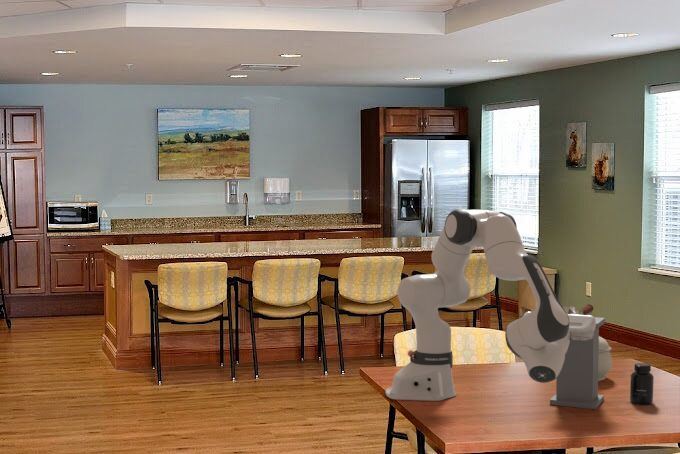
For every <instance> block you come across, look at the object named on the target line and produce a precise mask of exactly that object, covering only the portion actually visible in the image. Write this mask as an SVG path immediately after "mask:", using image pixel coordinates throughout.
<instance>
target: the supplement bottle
mask: <svg viewBox="0 0 680 454" xmlns="http://www.w3.org/2000/svg"><path fill="white" fill-rule="evenodd" d="M651 367H652V365H651V364H649V363H645V362H644V363H643V362H637V363H636V362H635V363H634V371H633V372H632V373H631V374H630V388H629V389H630V390H629V391H630V392H629V401H630V402H631V403H632V404H634V405H643V406H648V405H651V404H653V402H654V400H653V399H654V383H655V382H654V381H655V379H654V375H653V373H651Z"/></svg>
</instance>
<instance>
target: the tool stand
mask: <svg viewBox="0 0 680 454" xmlns="http://www.w3.org/2000/svg"><path fill="white" fill-rule="evenodd" d="M593 317H594V318H595V321H596V328H595V330H594V335H593V338H592V339H589V340H587V341H582V340H570V343H569V346H568V350H567V352H566V354H565V360H564V363H563V366H562V369H561V371H560V373H559V375H558V376H557V378H556V390H555V392H556V393H555V394H554V396H552V397H551V398H550V399H549V405H552V406H562V407H571V408H579V409H588V410H589V409H590V410H597V409H598V408H599V407H600V405H601V404H602V403H603V402H604V400H605V399H604V397H605V395H604V394H603V395H602V394H599V381H598V354H599V336H600V334H599V333H600V328H601V326H604V324H605V323H606V318H605V317H597V316H596V317H595V316H593Z"/></svg>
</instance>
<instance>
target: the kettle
mask: <svg viewBox="0 0 680 454" xmlns="http://www.w3.org/2000/svg"><path fill="white" fill-rule="evenodd" d="M577 311H580V312H582V315H591V316H593V313H592V312H593V311H594V306H593V304H586V305H585V306H584V307H582V308H580V309H579V310H577ZM611 351H612V347H611V346H610V345H609V343H608V342H607V340H606V339H605V338H603V337H602V336H600V335H599V354H598V382H602V381H605V380H606V378H607V377H606V375H608V374H609V372H610V371H611V370H612V368H613V358H612V354H611Z"/></svg>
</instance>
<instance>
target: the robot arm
mask: <svg viewBox="0 0 680 454" xmlns="http://www.w3.org/2000/svg"><path fill="white" fill-rule="evenodd" d="M474 248H483V251H484V252H483V253H484V257H485V261H486V264H487V267H488V270H489V272H490V273H491V274H492V275H493V276H494V277H496V278H497V279H500V280H503V281H512V282H515V281H523V280H526V281H527V283H528V285H529V287H530V290H531V292H532V294H533V297H534V298H535V300H536V302H537V303H536V304H537V305H536V307H535V309H534V310H532V311H526V312H524V314H523V316H521V317H519V318H518V319H515V320H514V321H512V322H510V323H509V324H507V326H506V328H505V332H504V333H505V335H504V336H505V342H506V346H507V347H508V349H509V351H511V353H512V354H513V355H515V356H516V357H518V358H519V359H520V360H522V361H523V363H524V365H525V367H526V370H527V374H528V377H530V378H531V379H532V380H533V381H535V382H537V383H542V384H545V383H551V382H552V381H554V380H557V376H558V375H559V373H560V371H561V369H562V366H563V363H564V360H565V354H566V352H567V350H568V346H569V343H570V340H582V341H587V340H589V339H592V338H593V335H594V330H595V328H596V321H595V318H594V317H595V316H593V315H592V316H591V315H588V314H586V315H577V313H576V312H575V310H576V307H575V306H569V307H570V308H569V314H567V313H566V312H565V310H564V309H563V307H562V305H561V303H560V301H559V299H558V298H557V295H556V293H555V291H554V289H553V287H552V285H551V283H550V280H549V278H548V277H547V275H546V272H545V271H544V269H543V267H542V264H540V261H539V260H538V259H537V258H536V257H535V256H534V255H532V254H528V253H527V252H526V249H525V247H524V244H523V241H522V238H521V235H520V233H519V231H518V229H517V222H516V219H515V218H514V217H513V215H511V214H508V213H506V212H503V211H495V210H488V209H465V208H459V209H458V208H457V209H455V210H452V211H450V212H449V213H448V215H447V216H446V219H445V221H444V226H443V228H442V230H441V231H440V234H439V237H438V239H437V241H436V243H435V245H434V248H433V250H432V252H431V263H432V264H433V266H434V267H435V269H437V270H436V271H435V272H433V273H427V274H426V273H425V274H424V273H423V274H415V275H410V276H408V277H405V278H402V279H401V281H400V282H399V284H398V286H397V291H396V292H397V293H396V294H397V298H398V301H399V303H400V305H402V307H404V308H405V309H406V310H407V311H408V313H409V314H410V315H411V317H412V319H413V322H414V325H415V333H416V349H415V350H414V351H413V350H412V349H410V350H409V349H408V351H407V356H408V357H409V360H410V362H408V363H407V364H406V365H405V366H403V367H402V368H401V369H399V370H397V372H395V374H394V376H393V378H392V379H393V380H392V384H391V385H392V386H389V387H388V388H386V389H385V396H386V397H388V398H389V399H391V400H401V401H402V400H403V401H427V402H428V401H431V402H432V401H433V402H434V401H435V402H440V401H443V400H445V399H450V398H454V397H455V396H456V395H457V393H456V390H455V386H454V380H453V379H454V378H453V373H452V372H453V371H452V370H453V364H454V362H453V361H454V354H453V351H452V328H451V326H450V324H449V323H448V322H447V321H445V320H443V319H442V318H441V317H440V314H439V308H440V309H441V308H448V307H452V308H453V307H455V306H458V305H461V304H464V303H466V302H467V301H468V300H469V298H470V295H471V285H470V281H469V280H468V278H467V277H466V276H465V268H466V267H467V263H468V261H469V258H470V256H471V255H472V252H473V250H474Z"/></svg>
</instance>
